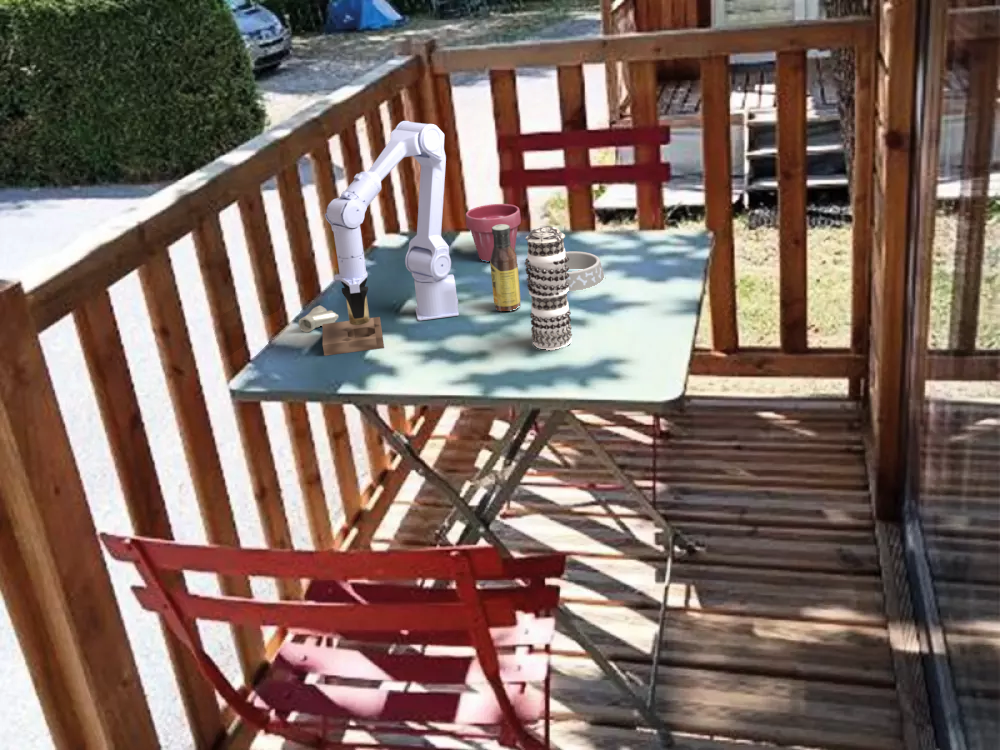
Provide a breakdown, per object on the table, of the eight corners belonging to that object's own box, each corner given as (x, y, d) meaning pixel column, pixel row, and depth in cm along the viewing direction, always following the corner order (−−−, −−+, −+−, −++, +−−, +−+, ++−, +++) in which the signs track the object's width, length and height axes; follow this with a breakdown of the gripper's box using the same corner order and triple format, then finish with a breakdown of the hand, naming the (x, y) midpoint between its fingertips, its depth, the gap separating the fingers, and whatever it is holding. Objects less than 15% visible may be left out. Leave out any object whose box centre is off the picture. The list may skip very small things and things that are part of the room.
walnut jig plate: (381, 327, 258) (379, 316, 257) (384, 347, 246) (382, 337, 245) (324, 334, 257) (322, 324, 256) (324, 355, 245) (322, 345, 244)
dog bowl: (584, 298, 266) (583, 276, 264) (518, 289, 275) (516, 268, 273) (617, 275, 279) (616, 254, 277) (552, 267, 288) (551, 247, 286)
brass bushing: (369, 316, 250) (365, 290, 248) (370, 323, 246) (366, 297, 244) (349, 319, 250) (345, 293, 247) (349, 325, 246) (346, 299, 243)
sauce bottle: (497, 303, 266) (490, 222, 258) (523, 303, 265) (517, 221, 257) (491, 313, 260) (484, 230, 252) (518, 313, 259) (511, 230, 251)
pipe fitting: (341, 322, 265) (314, 319, 267) (339, 307, 263) (313, 304, 265) (326, 335, 258) (299, 332, 260) (325, 319, 256) (298, 316, 258)
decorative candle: (568, 332, 246) (561, 220, 236) (578, 347, 238) (571, 232, 228) (527, 338, 245) (518, 226, 235) (535, 353, 237) (527, 238, 227)
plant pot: (458, 260, 299) (454, 213, 294) (497, 246, 308) (493, 200, 303) (495, 270, 289) (491, 221, 284) (534, 255, 298) (531, 208, 293)
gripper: (331, 246, 248) (339, 305, 254) (331, 266, 235) (340, 327, 240) (363, 243, 249) (371, 301, 254) (365, 262, 236) (373, 323, 241)
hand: (358, 313), depth 247 cm, fingers closed on brass bushing, 4 cm apart
